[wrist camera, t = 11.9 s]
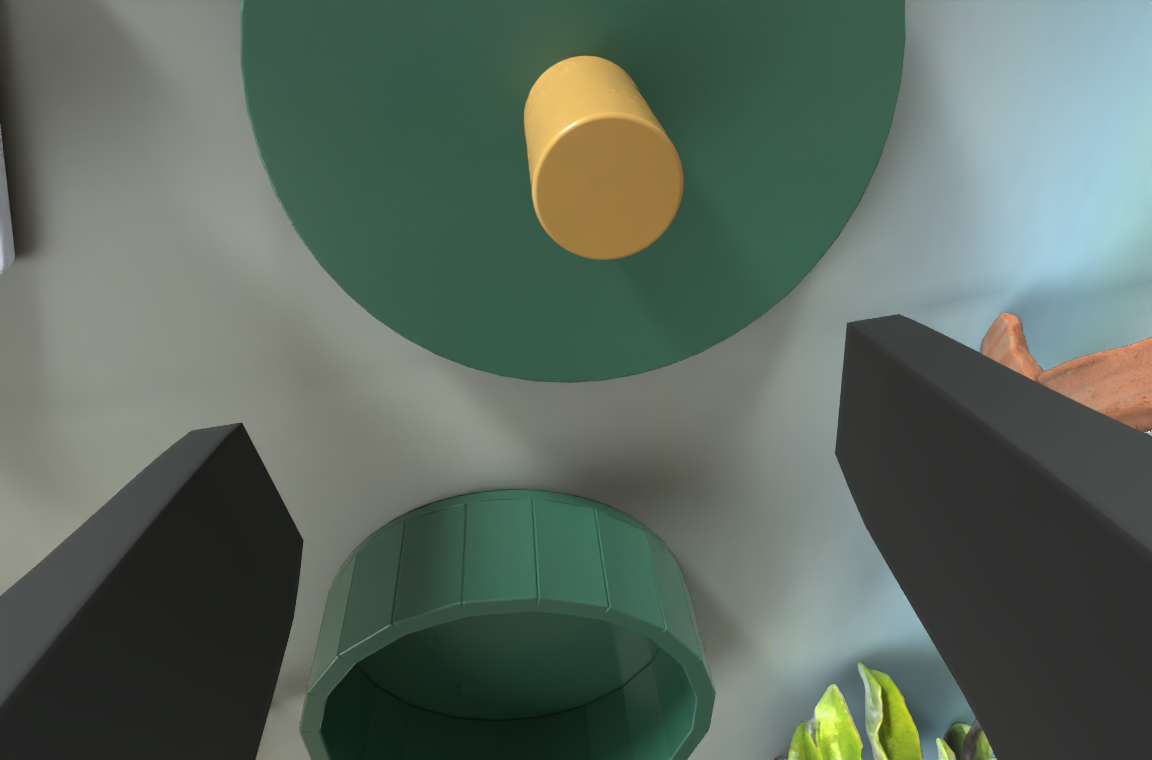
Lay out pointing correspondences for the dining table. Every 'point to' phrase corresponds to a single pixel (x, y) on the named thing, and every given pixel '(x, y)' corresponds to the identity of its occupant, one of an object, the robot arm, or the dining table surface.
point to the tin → (509, 639)
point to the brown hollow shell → (1083, 373)
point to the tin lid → (570, 163)
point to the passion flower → (878, 728)
